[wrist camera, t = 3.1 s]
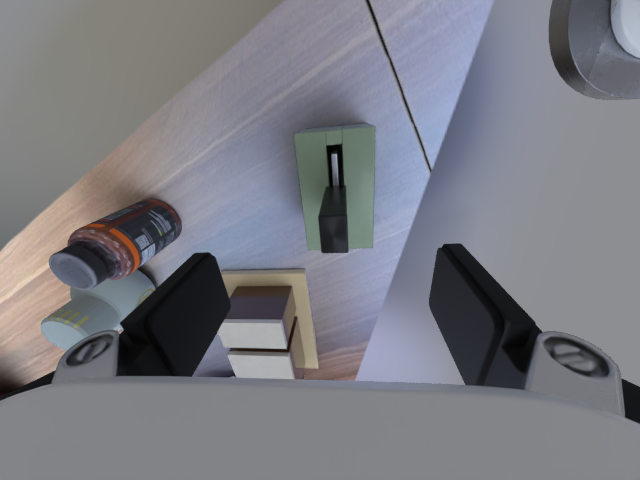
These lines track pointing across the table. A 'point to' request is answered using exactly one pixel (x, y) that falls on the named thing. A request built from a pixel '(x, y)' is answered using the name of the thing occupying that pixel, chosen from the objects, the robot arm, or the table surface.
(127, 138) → the table surface
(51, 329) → the air freshener
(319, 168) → the knife block
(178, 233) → the supplement bottle
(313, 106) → the table surface
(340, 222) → the knife
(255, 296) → the cake
